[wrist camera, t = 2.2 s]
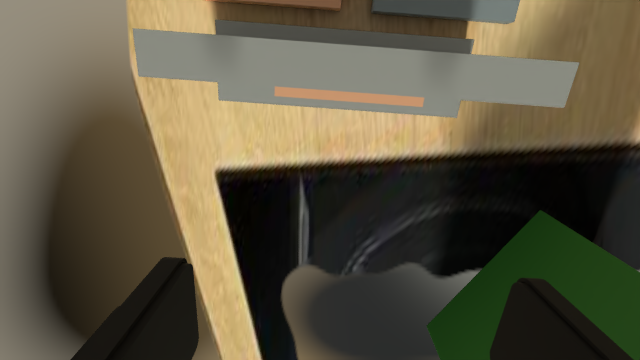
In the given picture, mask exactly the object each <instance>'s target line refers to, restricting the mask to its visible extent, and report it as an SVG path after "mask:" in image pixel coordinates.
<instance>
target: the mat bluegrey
mask: <svg viewBox="0 0 640 360" xmlns="http://www.w3.org/2000/svg"><path fill="white" fill-rule="evenodd" d="M519 2H520V0H372V9H371V13H373V14H386V15H399V16H412V17H425V18H437V19H450V20H463V21H476V22H489V23H502V24H508V23H512V22H514V21H515V17H516V13H517V10H518V6H519Z"/></svg>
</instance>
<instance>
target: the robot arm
mask: <svg viewBox="0 0 640 360" xmlns="http://www.w3.org/2000/svg"><path fill="white" fill-rule="evenodd" d="M198 339H199V334H198V322H197V310H196V299H195V286H194V275H193V266H192V264H187V261H186V259H185V258H172V257H164V258H162V259H161V260H160V261H159V262H158V263H157V264H156V266H155V267H154V268H153V269H152V270H151V271H150V273H149V274H148V275H147V276H146V277H145V278H144V279H143V281H142V282H141V283H140V284H139V285H138V286H137V288H136V289H135V290H134V291H133V292H132V293H131V294H130V295H129V297H128V298H127V299H126V300H125V302H123V304H122V305H121V306H119V307H118V308H116V309H115V310H114V311H113V312H112V313H111V314H110V315H109V317H108V318H107V319H106V320H105V321H104V322H103V323H102V325H101V326H100V327H99V328H98V329H97V330H96V331H95V333H94V334H93V335H92V336H91V337H90V338H89V339H88V340H87V342H86V343H85V344H84V345H83V346H82V347H81V349H80V350H79V351H78V352H77V353H76V354H75V355H74V357H73V358H72V359H71V360H191V359H192V357H193V355H194V353H195V351H196V348H197V345H198ZM490 360H634V359H632V358H631V357H630V356H629V355H628V354H627V353H626V352H625V351H624V350H623V349H621V348H620V347H619V346H618V345H617V344H616V343H615V342H614V341H613V340H611V339H610V338H609V337H608V336H607V335H606V334H605V333H604V332H603V331H601V330H600V329H599V328H598V327H597V326H596V325H595V324H594V323H593V322H592V321H590V320H589V319H588V318H587V317H586V316H585V315H584V314H583V313H582V312H580V311H579V310H578V309H577V308H576V307H575V306H574V305H573V304H572V303H570V302H569V301H568V300H567V299H566V298H565V297H564V296H563V295H562V294H561V293H559V292H558V291H557V290H556V289H555V288H554V287H553V286H552V285H551V284H549V283H548V282H547V281H546V280H544V279H539V278H520V279H518V280H517V282H516V283H514V284H512V286H511V289H510V292H509V295H508V298H507V301H506V304H505V307H504V310H503V313H502V316H501V319H500V322H499V325H498V328H497V331H496V334H495V337H494V340H493V343H492V346H491V349H490Z"/></svg>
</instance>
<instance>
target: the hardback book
mask: <svg viewBox="0 0 640 360" xmlns="http://www.w3.org/2000/svg"><path fill="white" fill-rule="evenodd" d="M520 278H539V279H544V280H546V281H547V282H548V283H549V284H551V285H552V286H553V287H554V288H555V289H556V290H557V291H558V292H559V293H561V294H562V295H563V296H564V297H565V298H566V299H567V300H568V301H569V302H570V303H572V304H573V305H574V306H575V307H576V308H577V309H578V310H579V311H580V312H582V313H583V314H584V315H585V316H586V317H587V318H588V319H589V320H590V321H592V322H593V323H594V324H595V325H596V326H597V327H598V328H599V329H600V330H601V331H603V332H604V333H605V334H606V335H607V336H608V337H609V338H610V339H611V340H613V341H614V342H615V343H616V344H617V345H618V346H619V347H620V348H621V349H623V350H624V351H625V352H626V353H627V354H628V355H629V356H630V357H631V358H632V359H634V360H640V272H638V271H637V270H635V269H633V268H632V267H630V266H629V265H627V264H625V263H624V262H622V261H621V260H619V259H618V258H616V257H614V256H613V255H611V254H610V253H608V252H606V251H605V250H603V249H602V248H600V247H598V246H597V245H595V244H594V243H592V242H591V241H589V240H587V239H586V238H584V237H583V236H581V235H579V234H578V233H576V232H575V231H573V230H572V229H570V228H568V227H567V226H565V225H564V224H562V223H560V222H559V221H557V220H556V219H554V218H553V217H551V216H549V215H548V214H546V213H545V212H543V211H541V210H540V211H539V212H538V213H537V214H536V215H535V216H534V217H533V218H532V219H531V220H530V221H529V222H528V223H527V224H526V225H525V226H524V227H523V228H522V229H521V230H520V231H519V232H518V233H517V234H516V235H515V236H514V237H513V238H512V239H511V240H510V241H509V242H508V243H507V244H506V245H505V246H504V247H503V248H502V249H501V250H500V251H499V252H498V254H497V255H496V256H495V257H494V258H493V259H492V260H491V261H490V262H489V263H488V264H487V265H486V266H485V267H484V268H483V269H482V270H481V271H480V272H479V273H478V274H477V275H476V276H475V277H474V278H473V279H472V280H471V281H470V282H469V283H468V284H467V285H466V286H465V287H464V288H463V289H462V290H461V291H460V292H459V293H458V294H457V295H456V296H455V297H454V298H453V300H451V302H449V303H448V304H447V305H446V307H445V308H444V309H443V310H442V311H441V312H440V313H439V314H438V315H437V316H436V317H435V318H434V319H433V320H432V321H431V322H430V323H429V324H428V325H427V328H428V331H429V333H430V335H431V338H432V340H433V343H434V345H435V348H436V350H437V353H438V355H439V357H440V360H490V349H491V346H492V343H493V340H494V337H495V334H496V331H497V328H498V325H499V322H500V319H501V316H502V313H503V310H504V307H505V304H506V301H507V298H508V295H509V292H510V289H511V286H512V284H514V283H516V282H517V280H518V279H520Z"/></svg>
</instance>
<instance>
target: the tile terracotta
mask: <svg viewBox="0 0 640 360" xmlns="http://www.w3.org/2000/svg"><path fill="white" fill-rule="evenodd" d="M207 1H220V2H232V3H245V4H258V5H271V6H284V7H296V8H309V9H322V10H335V11H340V9H341V0H207Z"/></svg>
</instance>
